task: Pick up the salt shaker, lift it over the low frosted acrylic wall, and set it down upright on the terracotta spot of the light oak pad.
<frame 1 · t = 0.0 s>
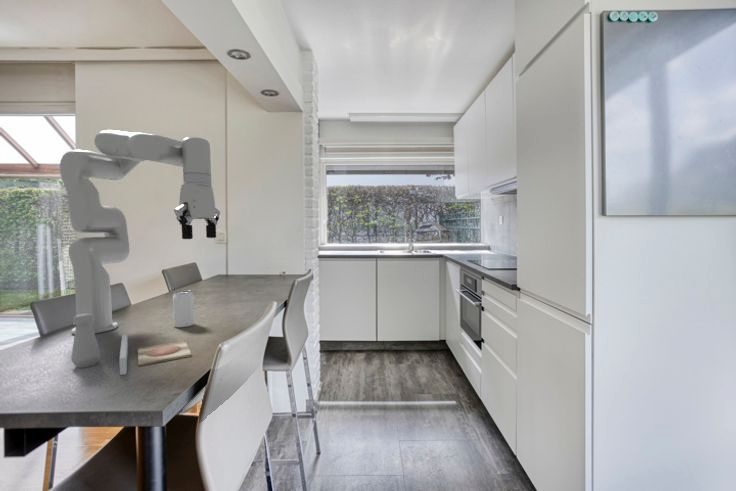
hand: (199, 238, 107), 31 cm above the table, tool pointing down, fingers open, 9 cm apart
acrylic wall: (124, 360, 93), on the table
salt shaker: (86, 365, 91), on the table
can: (184, 325, 126), on the table
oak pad: (163, 353, 98), on the table
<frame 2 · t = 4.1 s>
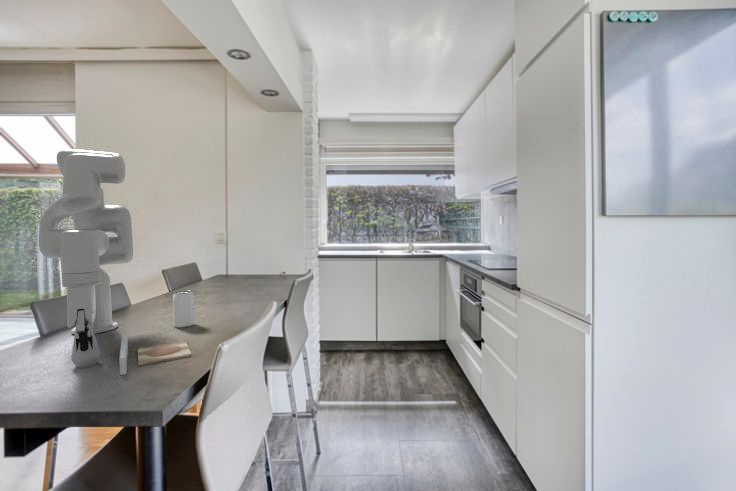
hand: (85, 350, 91), 4 cm above the table, tool pointing down, fingers closed on salt shaker, 3 cm apart
salt shaker: (86, 365, 91), on the table, touching gripper
everything else where it was.
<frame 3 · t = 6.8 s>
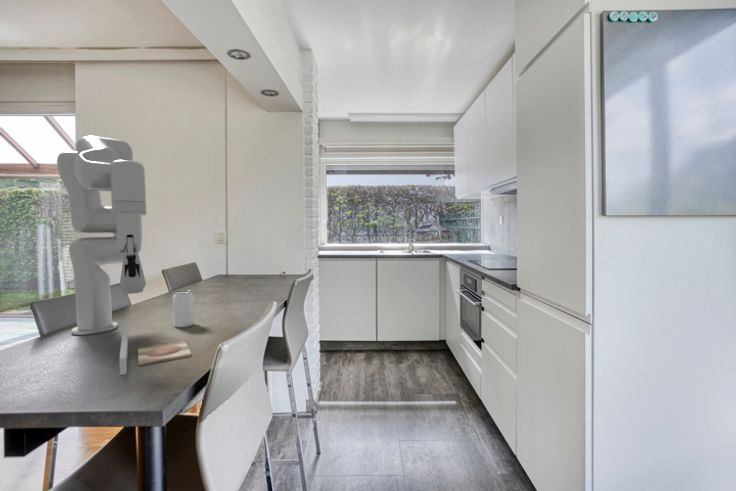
hand: (132, 278, 94), 21 cm above the table, tool pointing down, fingers closed on salt shaker, 3 cm apart
salt shaker: (133, 293, 94), point 17 cm above the table, touching gripper
everything else where it was.
when the fingers open (5 cm above the table, at t = 9.5 s): salt shaker stays where it is, resting on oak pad.
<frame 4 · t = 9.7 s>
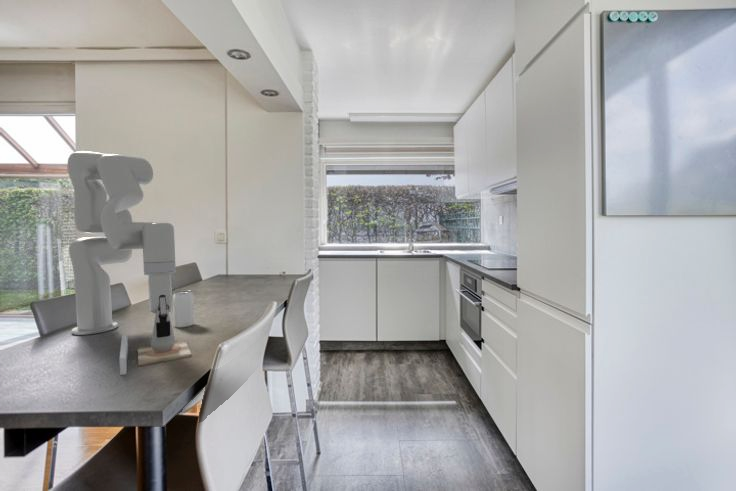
hand: (162, 333, 98), 6 cm above the table, tool pointing down, fingers open, 4 cm apart
salt shaker: (163, 351, 98), point 1 cm above the table, touching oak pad
everything else where it was.
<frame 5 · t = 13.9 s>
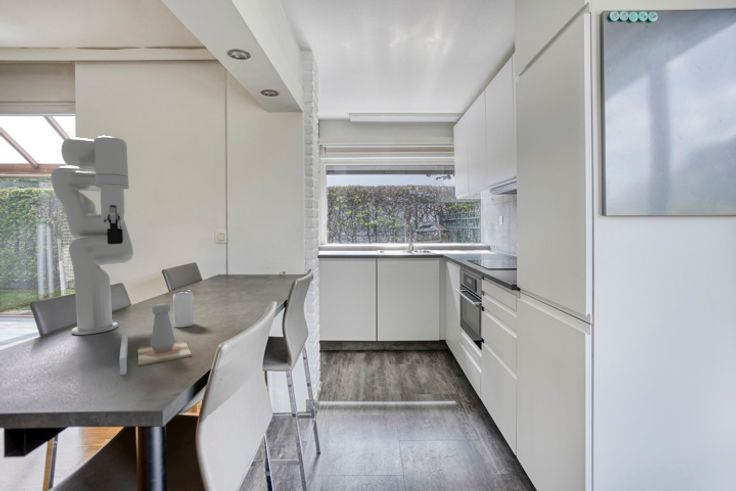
hand: (115, 243, 101), 30 cm above the table, tool pointing down, fingers open, 9 cm apart
nothing on the table moved.
at the end: salt shaker inside the target area on the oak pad (0.1 cm from its centre), point 0.5 cm above the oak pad's base; salt shaker tilted 0°; the gripper is holding nothing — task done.
